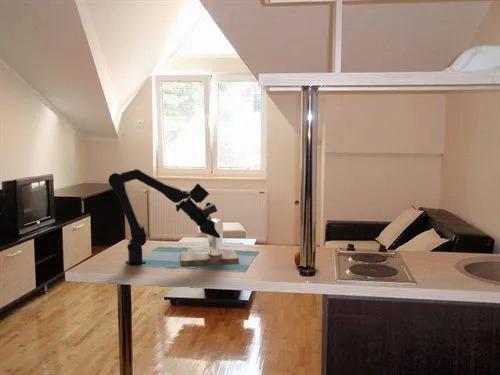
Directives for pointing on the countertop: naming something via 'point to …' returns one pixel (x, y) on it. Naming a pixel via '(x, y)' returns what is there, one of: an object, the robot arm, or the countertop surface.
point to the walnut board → (208, 258)
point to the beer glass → (216, 239)
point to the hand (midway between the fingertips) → (218, 235)
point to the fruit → (297, 259)
